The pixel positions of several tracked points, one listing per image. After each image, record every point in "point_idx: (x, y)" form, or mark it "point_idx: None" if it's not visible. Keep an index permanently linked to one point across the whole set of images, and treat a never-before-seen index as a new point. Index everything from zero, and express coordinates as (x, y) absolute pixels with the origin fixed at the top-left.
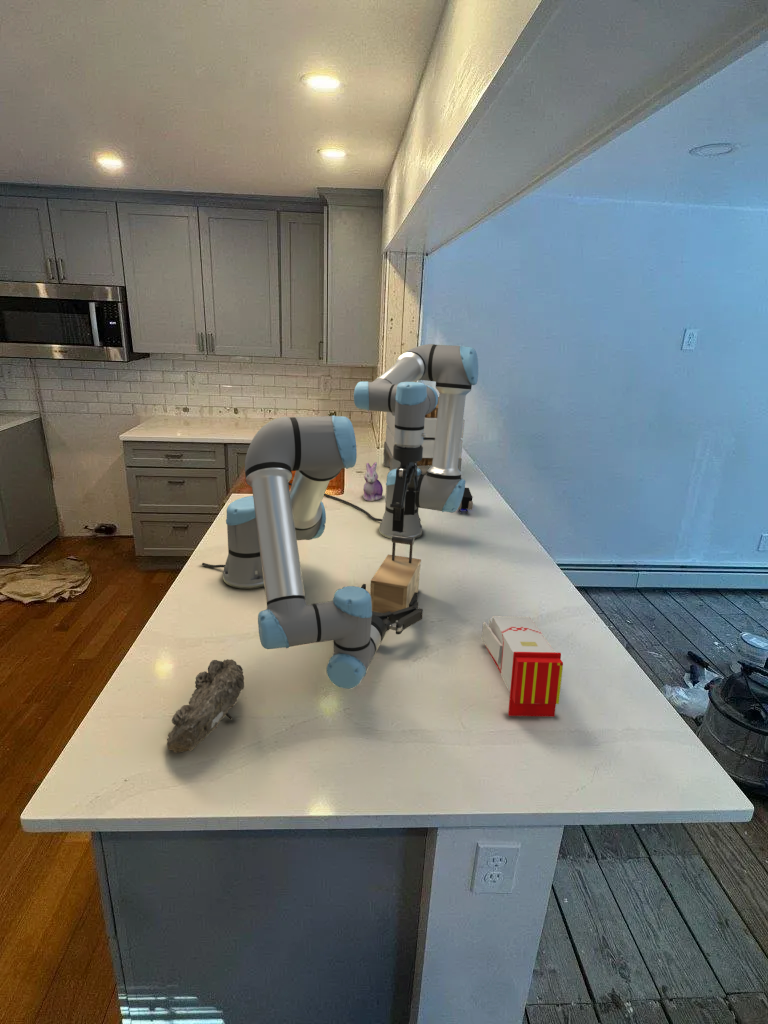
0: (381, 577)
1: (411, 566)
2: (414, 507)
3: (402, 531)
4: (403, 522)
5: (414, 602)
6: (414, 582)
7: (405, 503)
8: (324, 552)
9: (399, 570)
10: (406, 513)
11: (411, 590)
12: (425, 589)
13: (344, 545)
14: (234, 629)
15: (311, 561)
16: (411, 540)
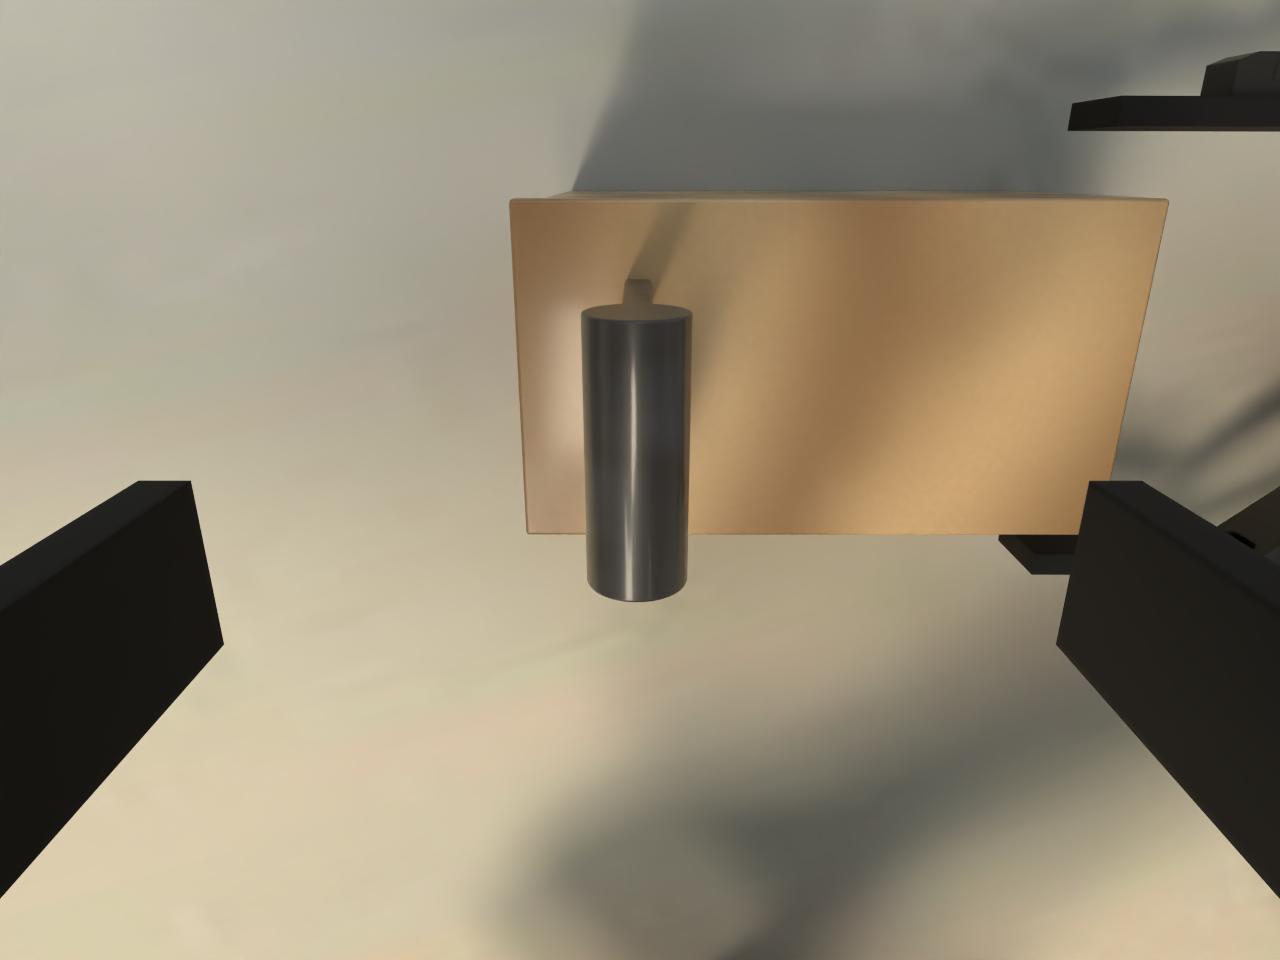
0: (1029, 467)
1: (721, 259)
2: (79, 545)
3: (1149, 486)
4: (1218, 556)
5: (1253, 94)
6: (786, 195)
7: (99, 773)
8: (282, 898)
9: (847, 351)
10: (209, 617)
11: (898, 194)
12: (519, 141)
13: (115, 834)
14: (1245, 956)
15: (436, 917)
16: (684, 335)
